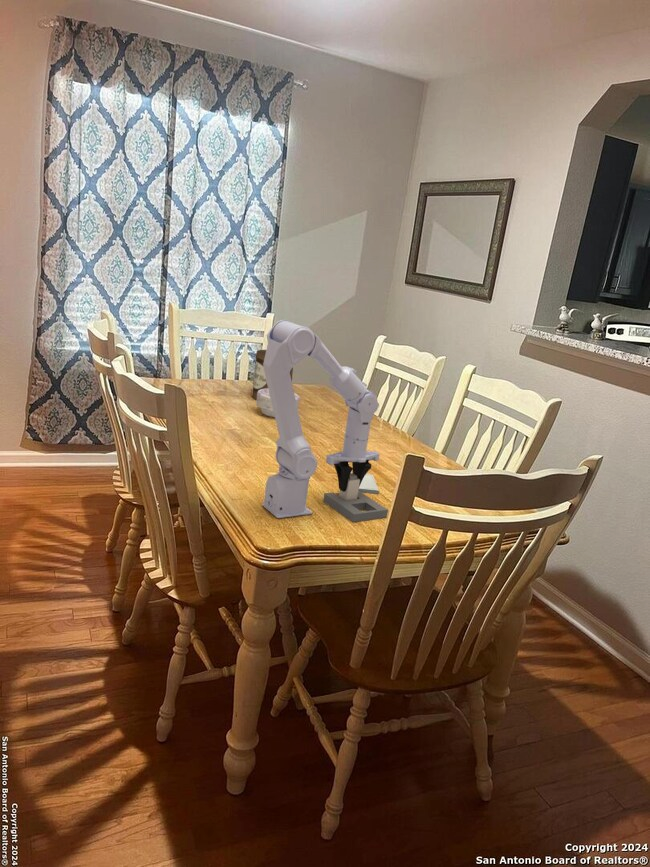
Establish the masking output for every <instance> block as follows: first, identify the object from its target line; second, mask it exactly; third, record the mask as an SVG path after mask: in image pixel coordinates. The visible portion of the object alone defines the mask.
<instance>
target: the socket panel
mask: <svg viewBox="0 0 650 867" xmlns="http://www.w3.org/2000/svg"><path fill="white" fill-rule="evenodd" d="M339 493H340V491H334V492H326V493H323V498H322V501H323V502H324V503H326V504H327V505H328V506H330V507H331V508H332V509H334V510H335V511H336V512H338V513H339V514H341V515H342V516H343V517H345V518H346V519H348V520H349V521H351V522H352V523H358V522H363V521H372V520H378V519H379V520H380V519H385V518H387V517H388V512H389V509H387V508H386V507H385V506H383V505H381V504H380V503H378V502H377V501H375V500H373V499H372V498H371V497H369V496H368V495H366V494H365V493H361V492H360V491H358V495H357V499H353V500H344V499H342V498H341V497H339Z"/></svg>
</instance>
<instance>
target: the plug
mask: <svg viewBox="0 0 650 867" xmlns="http://www.w3.org/2000/svg"><path fill="white" fill-rule="evenodd" d="M359 483H360V479H358V478H357V476H356V475H355V474H353V472H352V473H350V476H349V479H348V485H347V489H346V491H345V492H343V491H341V490H340V489H339V492H340V493H339V497H341V498H342V499H344V500H353V499H357V495H358V489H359Z"/></svg>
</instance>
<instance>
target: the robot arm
mask: <svg viewBox="0 0 650 867" xmlns="http://www.w3.org/2000/svg"><path fill="white" fill-rule="evenodd" d="M266 339H267V346H266V349H265V350H266V354H265V359H264V363H263V368H264V373H265V377H266V381H267V385H268V390H269V394H270V398H271V403H272V407H273V411H274V415H275V418H274V419H275V424H276V427H277V432H278V435H279V438H277V439H276V440H275V444H276V451H275V460H276V462H277V464H278V465H279V466H278V472H277V473H275V474H274V475H271V476H270V475H269V476H268V478H267V480H266V483H265V491H264V499H263V503H261V506H263V507H264V508H265V509H266V510H267V511H268V512H270V513H271V514H272V515H273V516H274V517H275V518H277V519H282V518H283V519H284V518H291V517H298V516H306V515H312V514H313V511H312V510H311V509H310V508H308V507H307V506H306V505H307V499H308V490H309V485H310V484H309V483H310V479H311V477H312V476H313V475H314V473H316V470H317V469H318V459H317V457H316V456H315V455H314V454H313V452H312V448H311V446H310V444H309V442H308V440H306V438H305V436H304V433H303V429H302V427H303V426H302V424H301V423H302V422H301V419H300V414H299V408H298V409H297V404H296V399H295V395H294V393H295V390H294V387H293V380H292V381H291V376H290V370H291V369H292V368H293V369H294V367H295V366H296V365H297V364H298V363H299V362H301V361H302V360H303V359H304V358H305V357H307V356H309V357H310V358H312V360H314V361H315V363H316V364H317V365H319V366H320V368H322V369H323V370H324V372H326V373H327V374H328V375H329V376H330V377H329V384H330V385H331V386H332V387H333V388H334V389H335V390H336V392H337V393H338V394H339V395H340V396H341V397H342V398H343V400H344V403H345V406H347V407H348V410H347V411H348V412H347V416H346V417H347V418H346V426H345V432H344V437H343V438H344V439H343V444H342V445H343V447H342V450H341V451H338V452H334V453H332V454H331V453H330V454H326V460H325V463H326V464H328V465H330V466H334V468H335V472H336V476H337V481H338V489H339V491H340V490H341V491H343V492H345V491H346V489H347V485H348V479H349V476H350V473H351V472H352V473H353V474H355V475H356V476H357V478H358V479H360V483H359V486H360V484H361V482H362V480H363V478H364V476H365V475H366V474H368V472H369V471H370V470H371V469H372V463H370V461H374V462H379V461H380V453H379V452H377V451H376V450H374V451H373V450H371V451H369V450H368V451H367V449H368V442H369V436H370V431H371V430H370V429H371V422H372V420H373V419H374V415H375V413H376V412H377V411H378V408H379V407H380V403H379V402H378V400H379V399H378V396H377V395H376V393H375V392H373V391H371V390H368V387H367V386H368V385H367V383H366V382H364V381H362V380H361V379H360V378H359V377H358V376H357V370H356V369H354V368H353V367H349V366H346V365H345V366H342V365H341V363H340V362H339V361H338V360H337V359H336V358H335V356H334V355H333V354H332V353H331V352H330V350H329V349H328V348H327V346H326V345H325V344H324V342H322V340H321V338H320V337H319V336H318V335H317V334H316V333H314V331H313V330H312V329H311V328H310V327H307V326H305V325H304V326H303V325H299V324H297V323H294V322H292V321H290V320H288V319H281V320H278V321H276V322H275V323H274V324H273V325H272V327H271V328H270V329H269V331H268V333H267V334H266ZM349 463H351V464H352V466H350V464H349Z"/></svg>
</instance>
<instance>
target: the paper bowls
mask: <svg viewBox="0 0 650 867" xmlns="http://www.w3.org/2000/svg"><path fill="white" fill-rule="evenodd" d="M294 395H295V399H296V404H297V409H298V410H299V405H300V399H301V396H300V395H299V394H298V393H296V392H294ZM255 401H256V406H257V407H258V408H260V410H261V412H262V414H263V415H265V416H267V417H268V418H269V417H271V418H274V419H275V415H274V411H273V407H272V403H271V398H270V394H269V390H268V388H267V389H260V390H259V391H258V392H257V400H255Z"/></svg>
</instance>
